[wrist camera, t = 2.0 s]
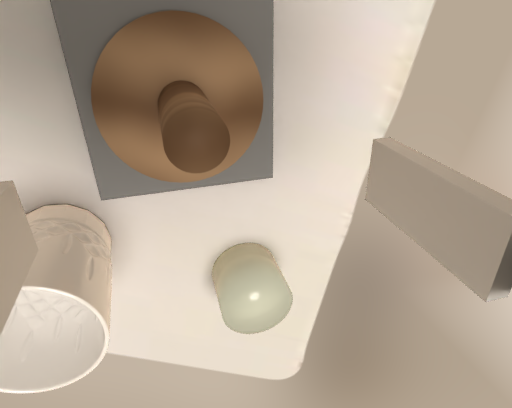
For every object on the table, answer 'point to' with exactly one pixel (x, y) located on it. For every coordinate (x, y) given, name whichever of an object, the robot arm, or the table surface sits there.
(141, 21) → the walnut lid
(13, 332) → the white cup
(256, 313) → the cream capsule cylinder
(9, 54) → the table surface
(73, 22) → the mat
